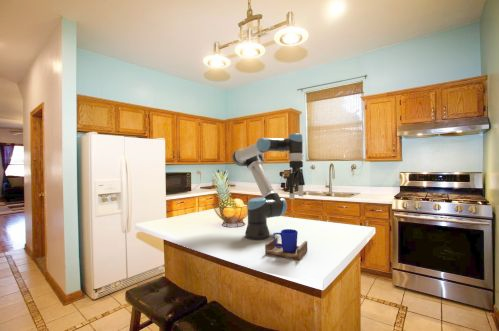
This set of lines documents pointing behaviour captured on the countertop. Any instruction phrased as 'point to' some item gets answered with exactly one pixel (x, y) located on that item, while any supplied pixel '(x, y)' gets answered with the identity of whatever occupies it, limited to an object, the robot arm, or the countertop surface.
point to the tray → (274, 251)
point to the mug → (288, 240)
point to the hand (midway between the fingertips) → (296, 197)
